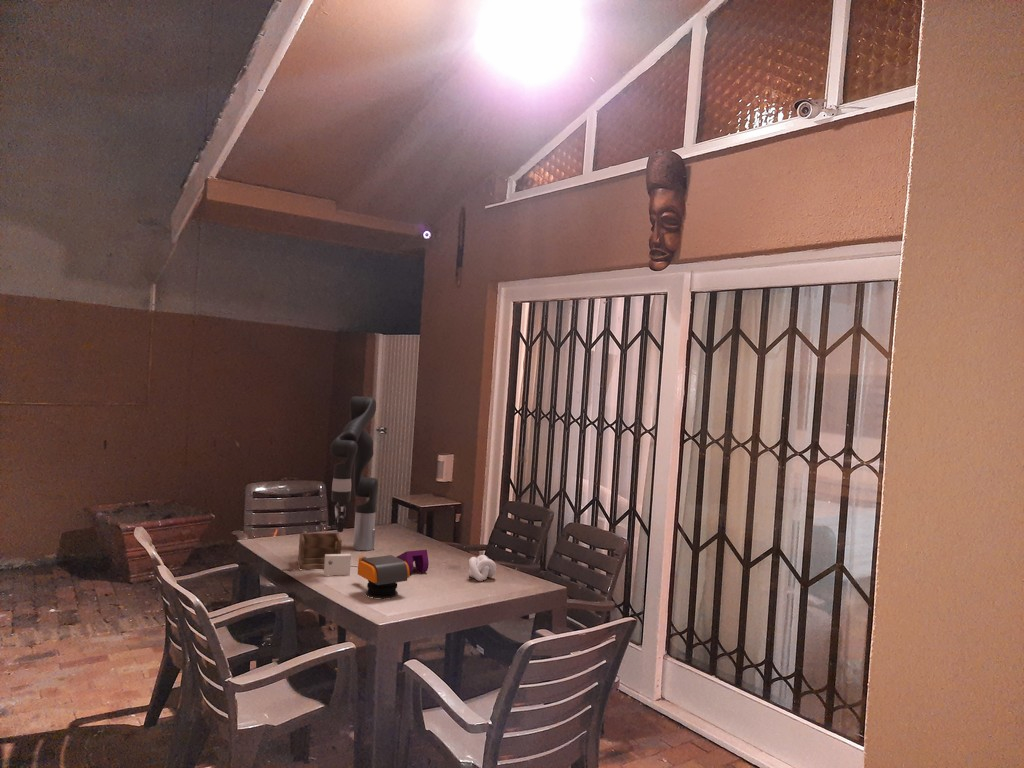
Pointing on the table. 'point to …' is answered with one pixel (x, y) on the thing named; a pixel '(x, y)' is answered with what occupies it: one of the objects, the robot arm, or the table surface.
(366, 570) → the sander
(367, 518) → the robot arm
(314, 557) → the cabinet
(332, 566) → the door
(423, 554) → the mounting bracket
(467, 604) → the table surface
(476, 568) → the white knot
